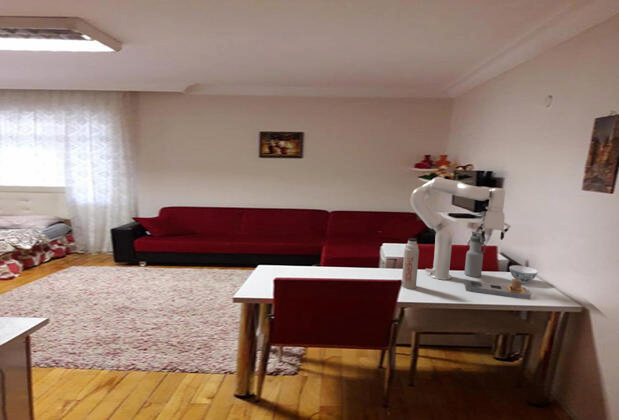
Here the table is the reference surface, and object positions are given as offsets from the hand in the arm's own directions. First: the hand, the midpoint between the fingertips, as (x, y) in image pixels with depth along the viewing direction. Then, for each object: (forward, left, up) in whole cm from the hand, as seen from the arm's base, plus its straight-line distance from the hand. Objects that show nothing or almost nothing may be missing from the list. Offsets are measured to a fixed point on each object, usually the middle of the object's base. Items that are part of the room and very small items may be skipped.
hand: (492, 238), depth 211 cm
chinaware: (+22, +16, -28) cm, 39 cm away
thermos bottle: (-44, -22, -28) cm, 57 cm away
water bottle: (-6, +16, -28) cm, 33 cm away
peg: (+13, -10, -28) cm, 33 cm away
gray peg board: (+3, -10, -28) cm, 30 cm away
